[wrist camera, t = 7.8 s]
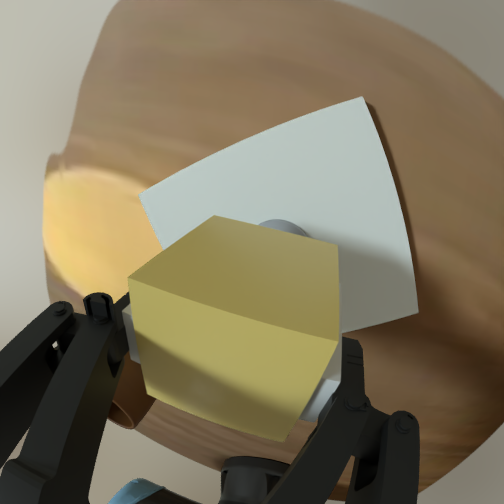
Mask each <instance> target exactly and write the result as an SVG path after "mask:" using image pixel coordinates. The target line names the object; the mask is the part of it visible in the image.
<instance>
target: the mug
mask: <svg viewBox="0 0 504 504" xmlns="http://www.w3.org/2000/svg"><path fill="white" fill-rule="evenodd" d="M124 358H125V365H124V368H123V370H122V373H121V376H120V379H119V382H118V385H117V388H116V391H115V394H114V398H113V401H112V404H111V407H110V410H109V414H108V417H107V419H109V420H110V421H112V422H113V423H115V424H117V425H119V426H121V427H123V428H126V429H134V428H135V427H136V426H137V425H138V423H139V422H140V421H141V420H142V419H143V418H144V416H145V415H146V414H147V412H148V411H149V409H150V408H151V406H152V405H153V403H154V402H155V400H156V399H157V398H154V397H152V396H150V395H148V394H147V390H146V386H145V382H144V377H143V373H142V368H141V364H139V363H137V362H135V361H133V360H131V357H130V353H129V351H128V352H127V354H126V355H125V356H124Z"/></svg>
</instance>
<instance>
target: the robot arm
mask: <svg viewBox="0 0 504 504" xmlns="http://www.w3.org/2000/svg"><path fill="white" fill-rule="evenodd" d="M83 302H84V306H85V310H86V314H87V315H84V314H79V313H74V310H73V307H72V305H71V304H70V303H69V302H65V301H59V302H55V303H53V304H52V305H50V306H49V307H48V308H47V309H46V310H44V311H43V312H42V313H41V314H40V315H39V316H38V317H37V318H35V319H34V320H33V321H32V322H31V323H30V324H29V325H27V326H26V327H25V328H24V329H23V330H22V331H21V332H20V333H19V334H18V335H17V336H16V337H15V338H14V339H13V340H11V341H10V342H9V343H8V344H7V345H6V346H5V347H4V348H3V349H2V350H1V351H0V469H1V467H2V466H3V465H4V463H5V462H6V461H7V459H8V457H9V456H10V454H11V453H12V452H13V450H14V449H15V447H16V446H17V444H18V443H19V441H20V440H21V438H22V437H23V436H24V434H25V433H26V431H27V430H28V429H29V431H28V433H27V436H26V439H25V441H24V444H23V447H22V450H21V452H20V455H19V457H17V458H16V459H11V460H8V461H7V462H6V463H5V465H4V467H3V470H2V473H1V476H0V504H90V503H89V500H88V495H89V489H90V484H91V480H92V475H93V471H94V466H95V462H96V457H97V454H98V449H99V446H100V442H101V438H102V435H103V431H104V428H105V424H106V421H107V417H108V414H109V410H110V407H111V404H112V401H113V398H114V394H115V391H116V388H117V385H118V382H119V379H120V376H121V373H122V370H123V368H124V365H125V358H124V356H125V355H126V354H127V352H128V351H129V353H130V357H131V360H133V361H135V362H137V363H139V364H141V363H140V358H139V353H138V348H137V342H136V337H135V331H134V324H133V318H132V311H131V303H130V295H129V292H128V293H126V295H124V296H123V297H122V298H121V299H119V300H118V301H117V302H116V303H115V304H113V300H112V297H111V296H110V295H108V294H106V293H99V292H97V293H92V294H90V295H88V296H86V297H85V298H84V299H83ZM55 341H56V342H57V344H58V346H57V347H55V348H53V346H52V344H53V343H54V342H55ZM363 365H364V364H363V349H362V347H361V345H360V343H359V341H358V340H355V339H350V338H346V337H342V298H341V284H340V283H339V342H338V344H337V347H336V349H335V351H334V353H333V355H332V357H331V359H330V361H329V363H328V365H327V367H326V369H325V371H324V373H323V375H322V377H321V379H320V381H319V383H318V384H317V386H316V388H315V390H314V392H313V394H312V396H311V397H310V399H309V401H308V403H307V404H306V406H305V408H304V410H303V411H302V413H301V415H300V417H299V418H298V419H301V420H305V421H310V422H315V421H316V419H317V418H318V424H317V426H316V428H315V429H314V430H313V432H312V433H311V434H310V436H309V437H308V440H307V441H306V443H305V445H304V446H303V448H302V449H301V451H300V452H299V453H298V455H297V456H296V458H295V459H294V461H293V462H292V464H291V465H287V464H284V463H280V462H276V461H272V460H267V459H262V458H254V457H232V458H229V459H227V460H226V461H225V462H224V465H223V467H222V470H221V498H220V501H219V503H218V504H325V502H326V501H327V499H328V497H329V496H330V494H331V492H332V490H333V489H334V487H335V485H336V483H337V482H338V480H339V478H340V476H341V474H342V472H343V470H344V469H345V467H346V465H347V463H348V461H349V459H350V457H351V455H353V456H355V461H354V466H353V471H352V476H351V481H350V485H349V490H348V494H347V498H346V502H345V504H417V495H418V483H419V460H420V436H419V424H418V421H417V419H416V418H415V416H413V415H412V414H411V413H409V412H406V411H397V412H394V413H393V414H392V415H391V416H390V415H388V414H386V413H383V412H381V411H379V410H377V409H375V408H374V407H372V406H371V403H370V400H369V398H368V397H367V396H366V395H365V388H364V367H363ZM318 416H319V417H318ZM29 427H30V428H29ZM108 504H201V503H198V502H196V501H193V500H191V499H188V498H186V497H184V496H181V495H179V494H177V493H174V492H172V491H170V490H168V489H166V488H165V487H164V486H159V485H157V484H155V483H153V482H150V481H148V480H146V479H143V478H137V479H134V480H132V481H130V482H129V483H127V484H126V485H125V486H124V487H123V488H122V489H121V490H120V491H119V492H118V493H117V494H116V495H115V496H114V497H113V498H112V499H111V500H110V502H109V503H108Z"/></svg>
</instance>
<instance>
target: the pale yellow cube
mask: <svg viewBox="0 0 504 504" xmlns="http://www.w3.org/2000/svg"><path fill="white" fill-rule="evenodd" d="M128 286H129V295H130V303H131V311H132V318H133V324H134V331H135V337H136V342H137V348H138V353H139V358H140V363H141V368H142V373H143V377H144V382H145V386H146V390H147V394H148V395H150V396H152V397H154V398H157V399H159V400H161V401H163V402H165V403H167V404H170V405H172V406H174V407H176V408H179V409H181V410H184V411H186V412H188V413H191V414H193V415H196V416H199V417H201V418H204V419H206V420H209V421H212V422H215V423H218V424H220V425H223V426H226V427H229V428H233V429H236V430H239V431H242V432H245V433H249V434H252V435H256V436H260V437H263V438H267V439H271V440H275V441H279V442H284V441H285V439H286V438H287V436H288V435H289V433H290V431H291V430H292V428H293V427H294V425H295V423H296V422H297V420H298V418H299V417H300V415H301V413H302V411H303V410H304V408H305V406H306V404H307V403H308V401H309V399H310V397H311V396H312V394H313V392H314V390H315V388H316V386H317V384H318V383H319V381H320V379H321V377H322V375H323V373H324V371H325V369H326V367H327V365H328V363H329V361H330V359H331V357H332V355H333V353H334V351H335V349H336V347H337V344H338V342H339V262H338V245H336V244H332V243H328V242H324V241H320V240H316V239H313V238H309V237H305V236H301V235H297V234H292V233H288V232H284V231H280V230H276V229H272V228H268V227H264V226H259V225H255V224H251V223H247V222H242V221H238V220H234V219H229V218H225V217H221V216H216V215H213V216H212V217H210V218H209V219H207V220H206V221H205V222H203V223H202V224H200V225H199V226H197V227H196V228H194V229H193V230H192V231H190V232H189V233H187V234H186V235H184V236H183V237H182V238H180V239H179V240H177V241H176V242H175V243H173V244H172V245H170V246H169V247H168V248H166V249H165V250H164V251H162V252H161V253H159V254H158V255H157V256H155V257H154V258H153V259H151V260H150V261H149V262H147V263H146V264H145V265H143V266H142V267H141V268H139V269H138V270H137V271H135V272H134V273H133V274H131V275H130V276H129V277H128Z"/></svg>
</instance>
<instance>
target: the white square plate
mask: <svg viewBox="0 0 504 504" xmlns="http://www.w3.org/2000/svg"><path fill="white" fill-rule="evenodd" d="M138 196H139V198H140V201H141V203H142V205H143V207H144V210H145V212H146V214H147V216H148V219H149V221H150V223H151V225H152V227H153V229H154V232H155V234H156V236H157V238H158V240H159V242H160V244H161V246H162V248H163V250H165V249H166V248H168V247H169V246H170V245H172V244H173V243H175V242H176V241H177V240H179V239H180V238H182V237H183V236H184V235H186V234H187V233H189V232H190V231H192V230H193V229H194V228H196V227H197V226H199V225H200V224H202V223H203V222H205V221H206V220H207V219H209V218H210V217H212V216H213V215H216V216H221V217H225V218H229V219H234V220H238V221H242V222H247V223H251V224H255V225H259V226H264V227H268V228H272V229H276V230H280V231H284V232H288V233H292V234H297V235H301V236H305V237H309V238H313V239H316V240H320V241H324V242H328V243H332V244H336V245H338V262H339V283H340V284H341V298H342V333H345V332H349V331H353V330H358V329H362V328H366V327H370V326H374V325H377V324H381V323H385V322H389V321H392V320H396V319H399V318H403V317H406V316H409V315H413V314H416V313H419V311H418V301H417V292H416V284H415V277H414V270H413V264H412V258H411V252H410V247H409V242H408V237H407V232H406V227H405V223H404V219H403V214H402V210H401V206H400V202H399V198H398V195H397V191H396V187H395V184H394V181H393V177H392V174H391V171H390V167H389V164H388V161H387V158H386V155H385V152H384V149H383V146H382V144H381V141H380V138H379V135H378V133H377V130H376V128H375V125H374V122H373V120H372V117H371V115H370V113H369V110H368V108H367V105H366V103H365V101H364V99H363V97H359V98H356V99H352V100H349V101H346V102H343V103H339V104H336V105H333V106H330V107H327V108H324V109H321V110H318V111H315V112H313V113H310V114H307V115H304V116H301V117H299V118H296V119H293V120H291V121H288V122H286V123H283V124H280V125H278V126H275V127H273V128H271V129H268V130H266V131H263V132H261V133H259V134H256V135H254V136H252V137H249V138H247V139H245V140H242V141H240V142H238V143H236V144H234V145H231V146H229V147H227V148H225V149H223V150H221V151H219V152H217V153H214V154H212V155H210V156H208V157H206V158H204V159H202V160H200V161H198V162H196V163H194V164H192V165H191V166H189V167H187V168H185V169H183V170H181V171H179V172H177V173H175V174H174V175H172V176H170V177H168V178H166V179H164V180H163V181H161V182H159V183H157V184H156V185H154V186H152V187H150V188H149V189H147V190H145V191H143V192H142V193H140V194H138Z"/></svg>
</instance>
